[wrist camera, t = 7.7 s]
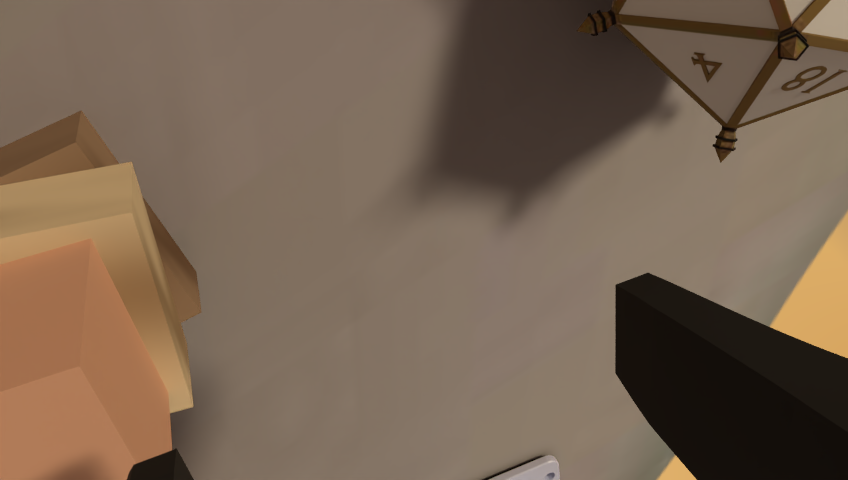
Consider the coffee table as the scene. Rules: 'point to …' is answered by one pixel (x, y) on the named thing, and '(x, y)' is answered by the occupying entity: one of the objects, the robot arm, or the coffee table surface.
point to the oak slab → (104, 252)
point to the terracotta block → (74, 373)
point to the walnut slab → (82, 150)
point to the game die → (739, 52)
